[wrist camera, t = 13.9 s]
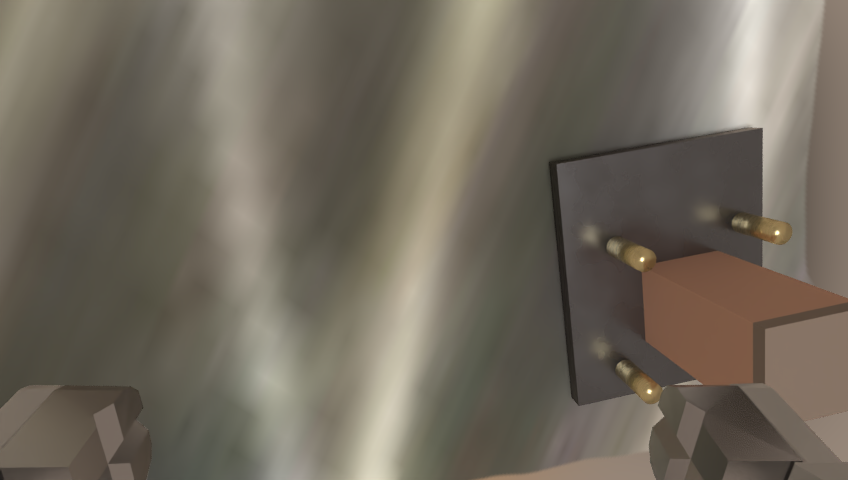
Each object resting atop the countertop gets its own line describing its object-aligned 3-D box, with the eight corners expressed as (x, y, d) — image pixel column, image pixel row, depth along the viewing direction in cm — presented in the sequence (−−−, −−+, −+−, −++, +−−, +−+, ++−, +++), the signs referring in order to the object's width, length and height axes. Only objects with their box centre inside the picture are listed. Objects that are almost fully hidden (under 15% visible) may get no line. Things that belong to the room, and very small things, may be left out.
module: (641, 265, 36) (765, 329, 26) (717, 250, 37) (869, 306, 26) (645, 341, 38) (764, 430, 27) (718, 325, 38) (864, 407, 28)
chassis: (549, 162, 35) (580, 169, 30) (749, 127, 36) (806, 129, 32) (571, 397, 39) (601, 434, 35) (750, 357, 41) (801, 388, 36)
